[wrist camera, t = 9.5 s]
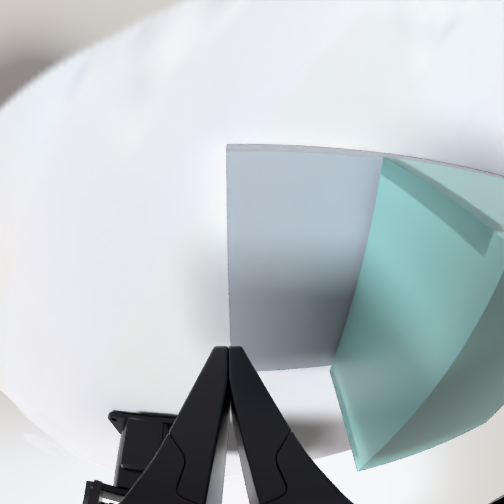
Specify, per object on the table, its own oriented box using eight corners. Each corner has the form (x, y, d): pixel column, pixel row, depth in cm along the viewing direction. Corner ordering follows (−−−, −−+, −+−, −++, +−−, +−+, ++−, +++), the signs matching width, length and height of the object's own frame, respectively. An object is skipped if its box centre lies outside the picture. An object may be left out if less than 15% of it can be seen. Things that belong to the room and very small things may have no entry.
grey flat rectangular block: (526, 308, 17) (542, 328, 14) (231, 354, 15) (233, 396, 13) (571, 198, 11) (594, 214, 9) (226, 144, 10) (225, 163, 7)
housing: (446, 349, 15) (485, 422, 10) (329, 371, 14) (357, 471, 9) (516, 182, 9) (603, 246, 4) (383, 156, 9) (513, 247, 4)
